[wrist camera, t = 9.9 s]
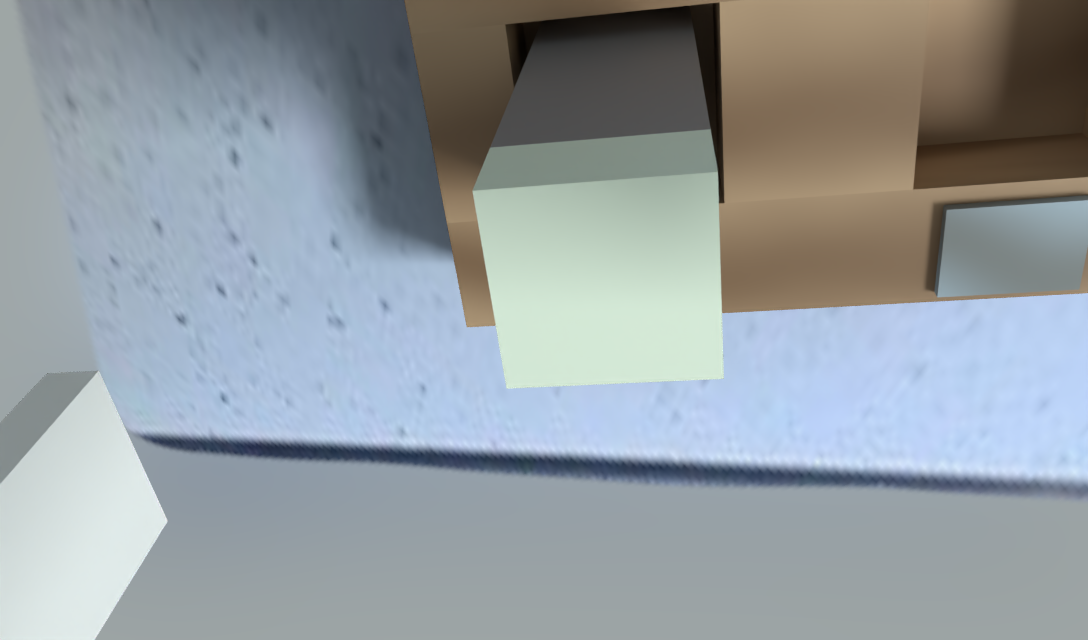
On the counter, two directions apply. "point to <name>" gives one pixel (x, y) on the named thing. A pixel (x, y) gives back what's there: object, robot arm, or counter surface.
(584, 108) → the plug
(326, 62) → the counter surface
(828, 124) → the socket block
